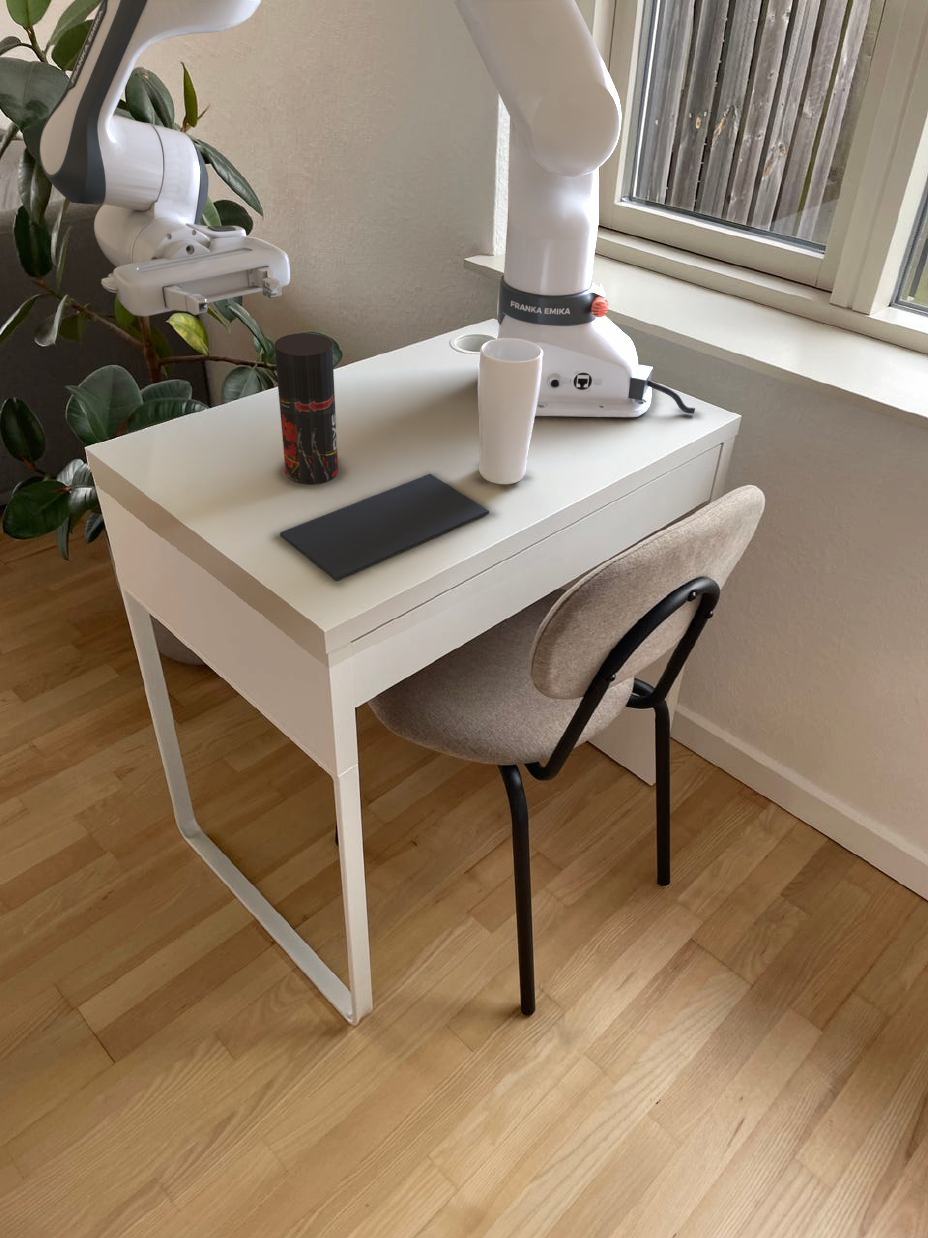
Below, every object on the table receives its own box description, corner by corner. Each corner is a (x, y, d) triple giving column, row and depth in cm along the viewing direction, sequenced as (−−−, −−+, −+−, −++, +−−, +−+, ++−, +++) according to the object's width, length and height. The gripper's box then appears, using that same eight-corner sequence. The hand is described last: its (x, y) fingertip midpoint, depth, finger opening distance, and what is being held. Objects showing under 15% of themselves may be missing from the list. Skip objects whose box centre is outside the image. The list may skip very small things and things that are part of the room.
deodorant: (340, 482, 104) (335, 354, 95) (287, 486, 103) (275, 356, 94) (335, 456, 109) (329, 331, 100) (284, 460, 108) (272, 334, 98)
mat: (430, 476, 106) (430, 473, 106) (489, 513, 101) (489, 510, 100) (280, 535, 96) (279, 532, 95) (336, 581, 90) (336, 577, 90)
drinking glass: (526, 493, 104) (539, 366, 95) (467, 485, 105) (473, 358, 96) (535, 464, 109) (547, 341, 100) (478, 457, 110) (485, 333, 101)
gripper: (89, 250, 103) (146, 287, 95) (250, 223, 114) (314, 253, 106) (100, 307, 107) (156, 346, 99) (255, 275, 118) (316, 308, 110)
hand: (239, 298), depth 103 cm, fingers open, 8 cm apart
